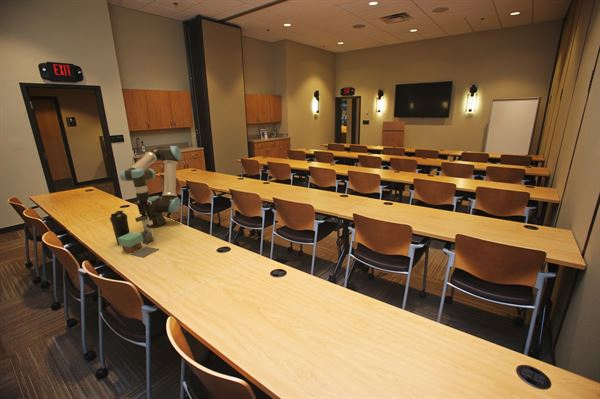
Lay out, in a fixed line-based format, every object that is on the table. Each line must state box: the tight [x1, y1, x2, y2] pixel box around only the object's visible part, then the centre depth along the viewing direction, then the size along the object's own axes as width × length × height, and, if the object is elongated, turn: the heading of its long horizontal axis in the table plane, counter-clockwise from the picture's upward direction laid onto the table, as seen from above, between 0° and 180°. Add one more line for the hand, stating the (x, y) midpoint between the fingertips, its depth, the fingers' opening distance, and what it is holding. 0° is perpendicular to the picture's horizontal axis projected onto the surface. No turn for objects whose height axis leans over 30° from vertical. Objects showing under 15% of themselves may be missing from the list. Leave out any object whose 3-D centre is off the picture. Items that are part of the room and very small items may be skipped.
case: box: [121, 242, 143, 254], centre depth 195 cm, size 8×8×5 cm
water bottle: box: [109, 210, 131, 246], centre depth 204 cm, size 10×10×23 cm
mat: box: [129, 246, 160, 258], centre depth 191 cm, size 12×12×1 cm
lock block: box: [139, 230, 154, 245], centre depth 205 cm, size 5×5×8 cm
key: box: [134, 215, 153, 233], centre depth 199 cm, size 10×9×11 cm
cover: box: [118, 231, 143, 247], centre depth 193 cm, size 10×10×5 cm
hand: (148, 224), depth 204 cm, fingers open, 3 cm apart
